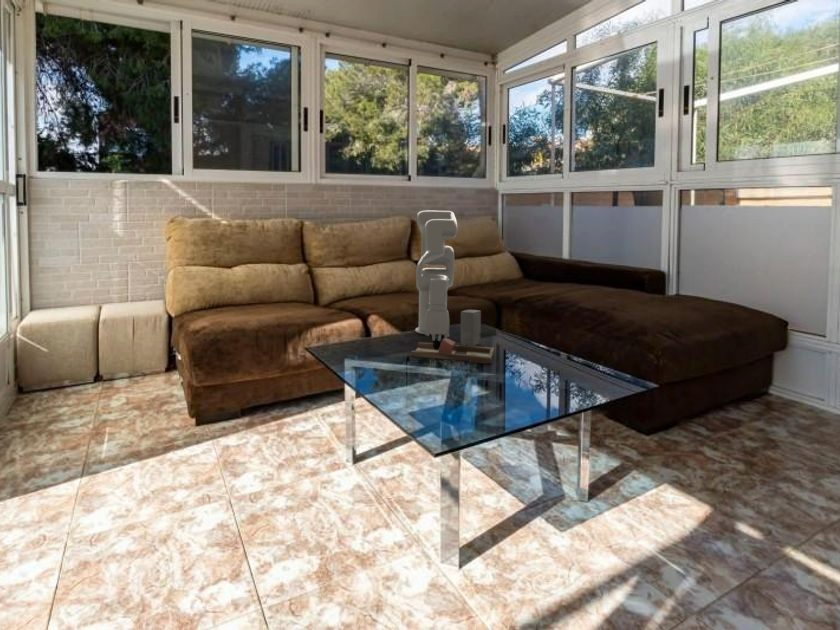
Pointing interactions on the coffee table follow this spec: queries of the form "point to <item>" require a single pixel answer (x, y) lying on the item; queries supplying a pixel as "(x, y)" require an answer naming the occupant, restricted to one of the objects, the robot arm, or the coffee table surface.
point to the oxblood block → (446, 346)
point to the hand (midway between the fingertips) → (436, 349)
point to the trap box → (456, 353)
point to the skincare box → (470, 327)
